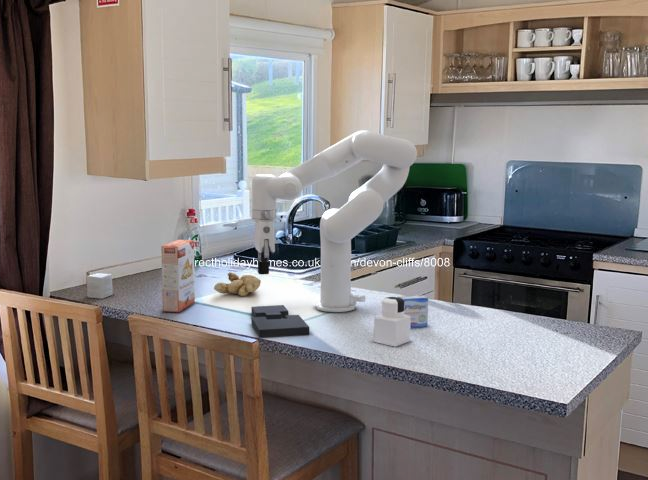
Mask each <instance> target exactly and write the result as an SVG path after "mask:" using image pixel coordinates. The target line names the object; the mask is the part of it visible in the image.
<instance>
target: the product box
mask: <svg viewBox="0 0 648 480" xmlns="http://www.w3.org/2000/svg"><path fill="white" fill-rule="evenodd" d="M86 294H87V298H90V299H99V300H100V299H102V300H103V299H105V298H109V297H111V296H113V295H114V291H113V275H112V273H100V272H96V273H93V274H90V275H86Z"/></svg>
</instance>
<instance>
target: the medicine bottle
mask: <svg viewBox="0 0 648 480" xmlns="http://www.w3.org/2000/svg"><path fill="white" fill-rule="evenodd" d="M399 297H400V296H387V297H384V298H382V299H381V308H380V309H381V314H379V315H378V314H377V315H376V316H374V322H373V323H374V326H373V331H374V332H373V342H374V343H378V344H381V345H387V346H391V347H395V348H397V347H399V346H402V345H404V344H406V343H408V342H411V328H410V324H411V316H409V315H404V300H403V299H401V298H399Z"/></svg>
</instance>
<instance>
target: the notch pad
mask: <svg viewBox="0 0 648 480" xmlns="http://www.w3.org/2000/svg"><path fill="white" fill-rule="evenodd" d="M251 326H252V328H253V329H254V331H255V333H256V334H257V336H258V338H260V339H261V338H272V337H273V338H276V337H290V336H294V337H295V336H308V335H310V326H309V325H308V323H307V322H306V321H305V320H304V319H303V318H302V317H301V316H300V314H289V315H285V318H282V319H269V320H267V319H266V317H254V316H252V317H251Z"/></svg>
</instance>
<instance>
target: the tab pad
mask: <svg viewBox="0 0 648 480" xmlns="http://www.w3.org/2000/svg"><path fill="white" fill-rule="evenodd" d="M251 315H252V317H266V319H267V320H269V319H285V315H290V314H289V310H288V308H287V307H286V306H285V305H284V304H276V305H275V304H274V305H258V306H251Z"/></svg>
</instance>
